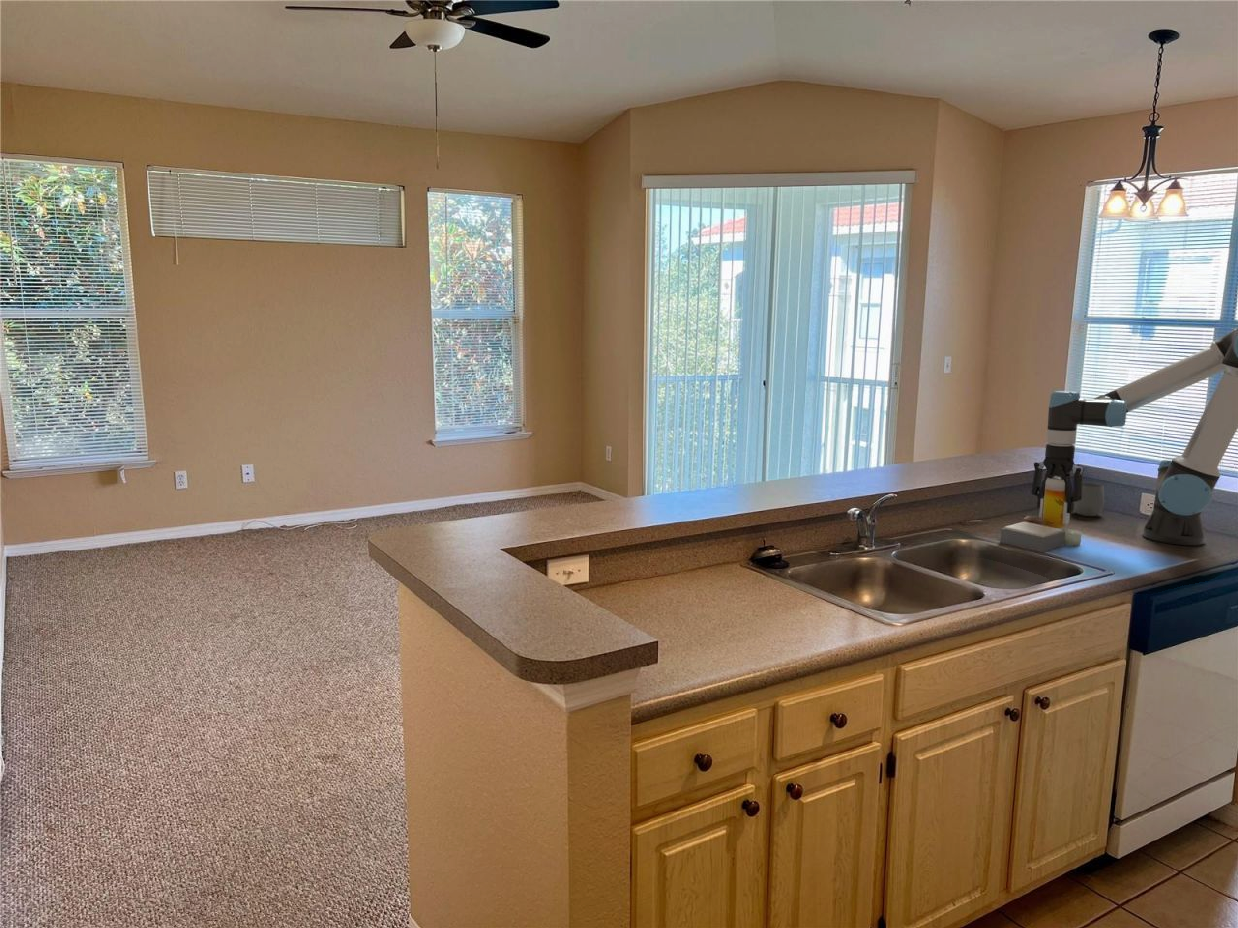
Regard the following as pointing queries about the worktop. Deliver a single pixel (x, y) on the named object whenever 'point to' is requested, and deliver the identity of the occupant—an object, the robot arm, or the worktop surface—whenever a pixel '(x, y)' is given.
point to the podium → (1032, 536)
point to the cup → (1090, 500)
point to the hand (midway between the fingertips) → (1053, 521)
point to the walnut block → (1034, 520)
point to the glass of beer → (1054, 502)
